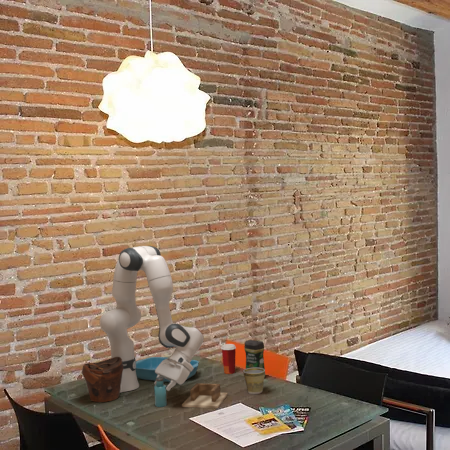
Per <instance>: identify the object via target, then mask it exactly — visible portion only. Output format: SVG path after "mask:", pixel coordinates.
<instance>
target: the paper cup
mask: <svg viewBox="0 0 450 450" xmlns="http://www.w3.org/2000/svg"><path fill="white" fill-rule="evenodd" d="M236 349H237V347H236V345H235V344H233V343H226V344H222V345H221V348H220V350H221V354H222V355H221V356H222V363H223V364H222V367H223V374H226V375H233V374H235V373H236Z"/></svg>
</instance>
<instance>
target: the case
mask: <svg viewBox="0 0 450 450" xmlns="http://www.w3.org/2000/svg"><path fill="white" fill-rule="evenodd" d="M122 372H123V363H122V359H121V358H120V357H114V358H112V359H111V358H109V359H105V360H102V361H99V362H89V363H88V362H87V363H84V364H83V365H82V370H81V375H82V376H83V378H84V380H85V383H86V387H87V391H88V394H89V399H90V401H91V402H93V403H94V402H95V403H104V402H110V401H114V400H117V399H118V398H119V397H120V387H121V379H122Z"/></svg>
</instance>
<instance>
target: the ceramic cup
mask: <svg viewBox="0 0 450 450" xmlns="http://www.w3.org/2000/svg"><path fill="white" fill-rule="evenodd" d="M242 372H243V373H242V374H243V376H244V377H243V378H244V380H245V384H246V385H245V386H246V391H247V392H248V394H249V395H259V394H261V393H263V391H264V380H265V377H266V368H265V369H263V368H247V369H246V368H245V369H243V371H242ZM264 376H265V377H264Z"/></svg>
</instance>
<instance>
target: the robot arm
mask: <svg viewBox="0 0 450 450" xmlns="http://www.w3.org/2000/svg"><path fill="white" fill-rule="evenodd" d="M114 267H115V268H114V272H113V278H112V279H113V280H112V288H111V289H112V290H111V296H112V298H114V299H115V302H116V304H115V305H116V306H115V308H114V309H110V310H108V311H106V312H104V314H102V315H101V316H100V319H99V327H100V329H101V330H102V331H103V332H104V333H105V334H106V336H107V338H108V341H109V345H110V359H112V358H114V357H120V358H121V359H122V363H123V372H122V379H121V387H120V393H125V392H130V391H133V390H136V389H138V388H139V387H140V383H139V381H138V378H137V376H136V361H137V360H136V357H135V343H134V341H133V339H131V338H130V336H129V333H128V329H130V328H133V327H135V326H136V325H137V324H138V323H139V322H140V321H141V318H142V313H141V310H140V308H139V307H138V305H137V301H136V299H137V298H136V291H137V290H136V289H137V281H138V280H137V278H138V273H139V271H142V272H144V273H145V276H146V281H147V286H148V289H149V291H150V294H151V297H152V300H153V303H154V306H155V311H156V312H155V313H156V315H157V321H158V327H159V330H158V335H157V337H158V338H157V339H158V342H159V343H160V345H162V347H164V348H168V349H172V348H175V350H174V351H173V352H172V353H171V355H170V357H168V358H167V359H165V360H163V361H162V362H161V363H160V364H159V366H158V367H157V368H156V370H155V373H156V374H157V375H158V376H157V377H163V378H165V379H168V380H170V381H171V382H169V383H168V384H165V385H166V387H165V389H166V391H168V392H169V391H171V388H174V387H175V386H176V384H178V385H180V386H181V385H182V384H184V383H185V382H186V379H187V377H188V376H189V374H190V372H191V371H192V370H193V369H194V368H193V366H192V365H191V364H190V362H191V360H193V357H194V356H195V355H196V354H198V351H199V350H200V348H201V347H202V345H203V343H204V340H205V339H204V338H205V337H204V335H203V333H202V332H201V331H200V330H199V329H198V328H197V327H194V326H192V327H191V326H184V325H181V324H179V323H174V322H173V318H172V313H171V308H170V300H171V297H172V294H173V292H174V283H173V278H172V274H171V271H170V268H169V265H168V264H167V260H166V259H165V257H164V256H162V254H161V251H160V249H159V248H158V247H156V246H154V245H139V246H133V247H127V248H125V249H122V250H121V251H120V253H119V256H118V260H117V261H116V265H115V266H114ZM187 380H188V379H187ZM153 384H154V386H155V385H157V384H156V381H154V383H153Z"/></svg>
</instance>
